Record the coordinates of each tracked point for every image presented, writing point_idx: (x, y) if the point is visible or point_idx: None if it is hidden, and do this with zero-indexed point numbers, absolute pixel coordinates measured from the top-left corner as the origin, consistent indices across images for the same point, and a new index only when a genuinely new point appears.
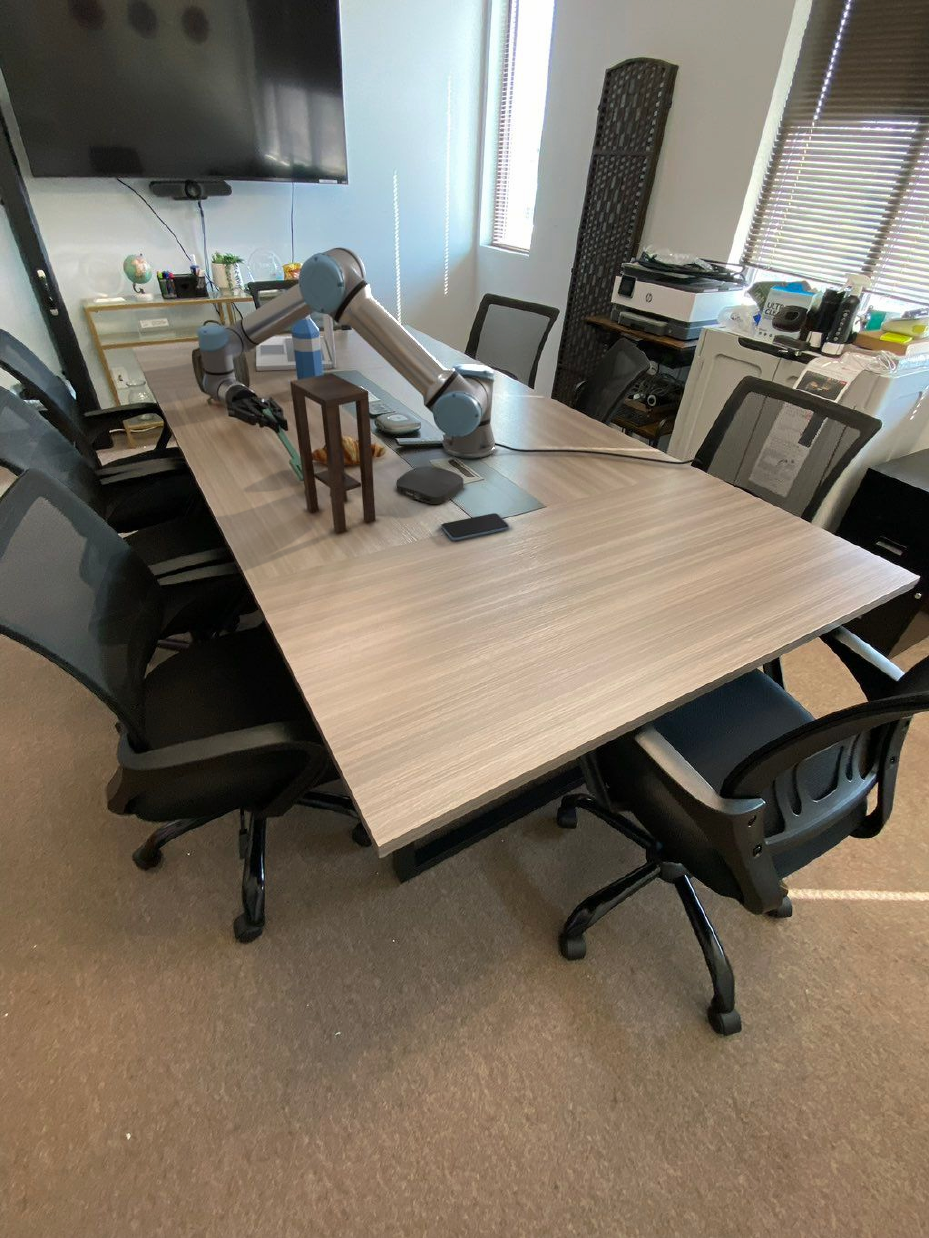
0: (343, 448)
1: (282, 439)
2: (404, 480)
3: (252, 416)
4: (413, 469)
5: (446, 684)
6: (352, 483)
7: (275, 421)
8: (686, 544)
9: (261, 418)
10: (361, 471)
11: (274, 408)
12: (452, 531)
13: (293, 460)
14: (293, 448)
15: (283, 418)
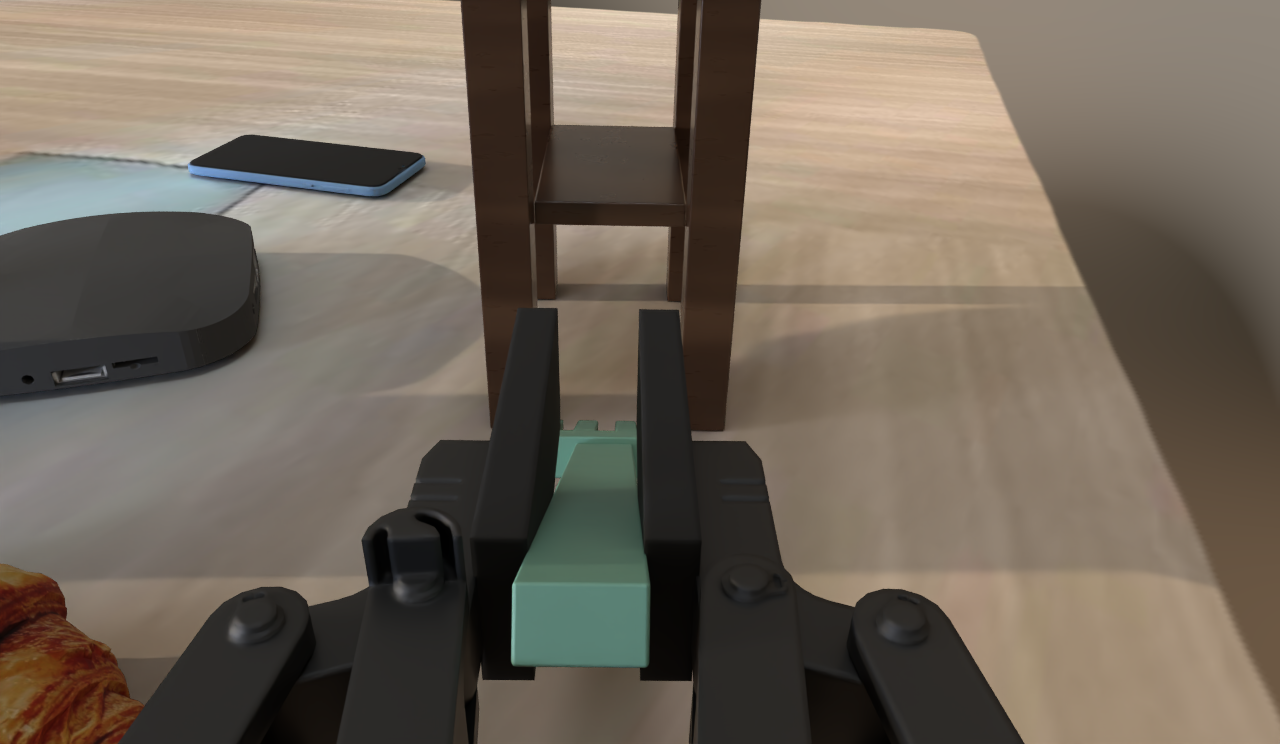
0: (14, 597)
1: (628, 473)
2: (176, 307)
3: (898, 594)
4: (6, 344)
5: (783, 61)
6: (587, 129)
7: (664, 324)
8: (64, 45)
9: (756, 540)
10: (550, 60)
11: (420, 531)
12: (395, 163)
13: None
14: (580, 453)
15: (525, 339)
